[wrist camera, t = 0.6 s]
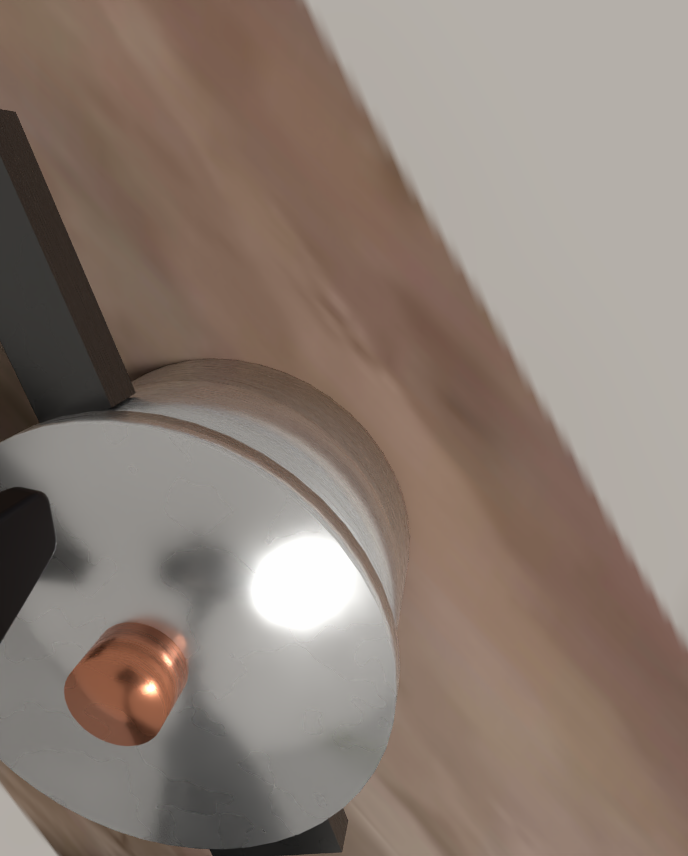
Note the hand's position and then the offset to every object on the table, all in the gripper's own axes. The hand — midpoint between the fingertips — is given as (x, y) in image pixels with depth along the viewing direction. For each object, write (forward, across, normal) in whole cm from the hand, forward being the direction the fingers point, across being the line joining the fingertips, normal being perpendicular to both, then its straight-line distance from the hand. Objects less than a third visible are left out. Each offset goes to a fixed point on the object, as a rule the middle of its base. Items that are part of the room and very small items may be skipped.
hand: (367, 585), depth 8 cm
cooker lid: (+6, +9, +8) cm, 14 cm away
